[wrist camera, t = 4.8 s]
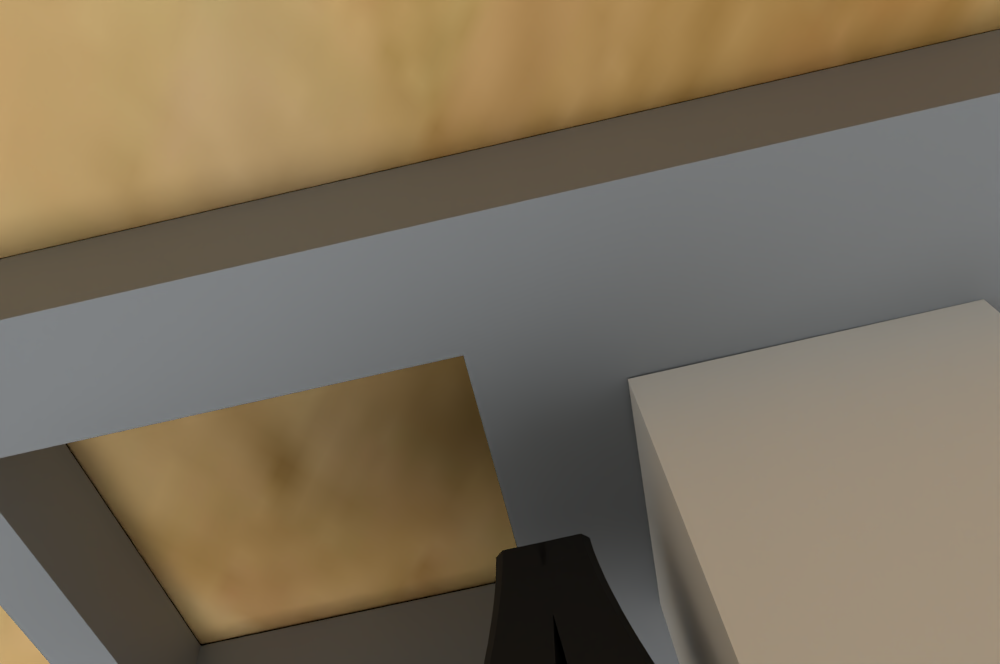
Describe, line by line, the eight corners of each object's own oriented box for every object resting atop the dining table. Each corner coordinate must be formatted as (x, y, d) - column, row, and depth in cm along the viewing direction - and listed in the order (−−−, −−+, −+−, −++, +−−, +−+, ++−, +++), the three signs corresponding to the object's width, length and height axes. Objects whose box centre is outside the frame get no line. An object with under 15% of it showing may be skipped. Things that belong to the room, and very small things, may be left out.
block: (946, 541, 14) (1178, 857, 10) (660, 603, 14) (768, 941, 10) (983, 299, 11) (1330, 595, 7) (627, 378, 11) (758, 715, 7)
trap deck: (1409, 669, 22) (1492, 741, 20) (323, 889, 23) (316, 974, 21) (2040, -210, 11) (2340, -212, 9) (-118, 286, 12) (-206, 366, 10)
